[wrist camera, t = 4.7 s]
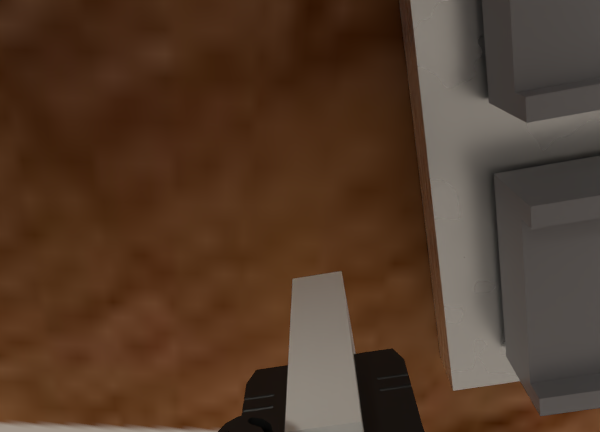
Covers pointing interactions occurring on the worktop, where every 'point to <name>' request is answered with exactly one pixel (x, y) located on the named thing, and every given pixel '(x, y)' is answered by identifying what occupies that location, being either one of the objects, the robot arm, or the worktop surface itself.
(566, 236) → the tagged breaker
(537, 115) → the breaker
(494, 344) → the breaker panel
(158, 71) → the worktop surface
